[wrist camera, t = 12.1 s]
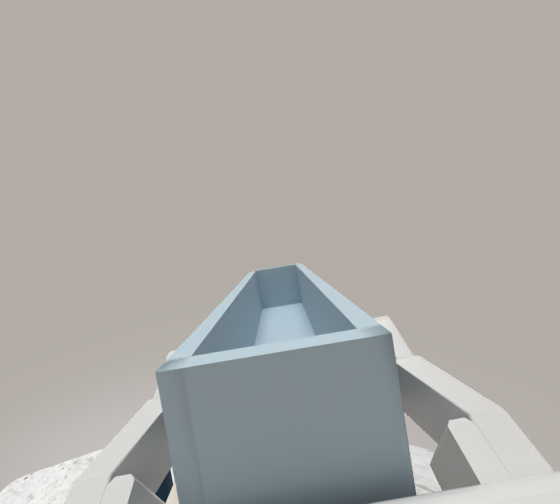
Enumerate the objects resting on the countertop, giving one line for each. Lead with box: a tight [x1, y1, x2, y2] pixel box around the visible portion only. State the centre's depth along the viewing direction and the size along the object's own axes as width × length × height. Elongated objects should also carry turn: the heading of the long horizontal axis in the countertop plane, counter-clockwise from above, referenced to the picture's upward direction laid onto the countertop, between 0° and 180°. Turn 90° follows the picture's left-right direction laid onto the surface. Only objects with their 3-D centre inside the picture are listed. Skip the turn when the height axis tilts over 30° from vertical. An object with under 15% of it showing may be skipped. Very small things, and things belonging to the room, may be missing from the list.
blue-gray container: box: [156, 263, 416, 504], centre depth 14 cm, size 4×18×4 cm, turn 1°
